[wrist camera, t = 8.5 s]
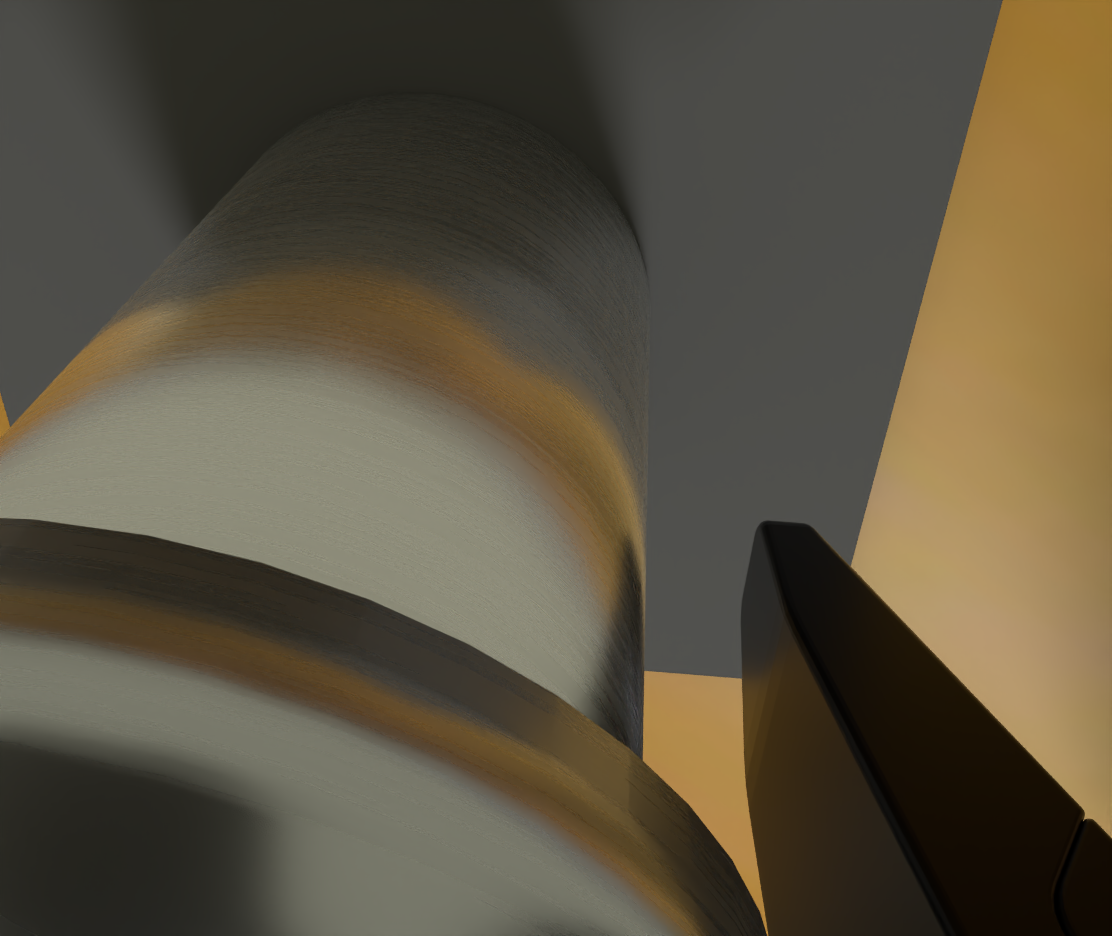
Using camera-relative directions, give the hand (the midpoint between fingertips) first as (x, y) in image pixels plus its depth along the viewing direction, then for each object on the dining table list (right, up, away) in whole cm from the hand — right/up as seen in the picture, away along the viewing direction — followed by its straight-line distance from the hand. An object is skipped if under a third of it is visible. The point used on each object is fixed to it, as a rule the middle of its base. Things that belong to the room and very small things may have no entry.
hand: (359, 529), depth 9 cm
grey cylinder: (0, +2, +3) cm, 4 cm away
